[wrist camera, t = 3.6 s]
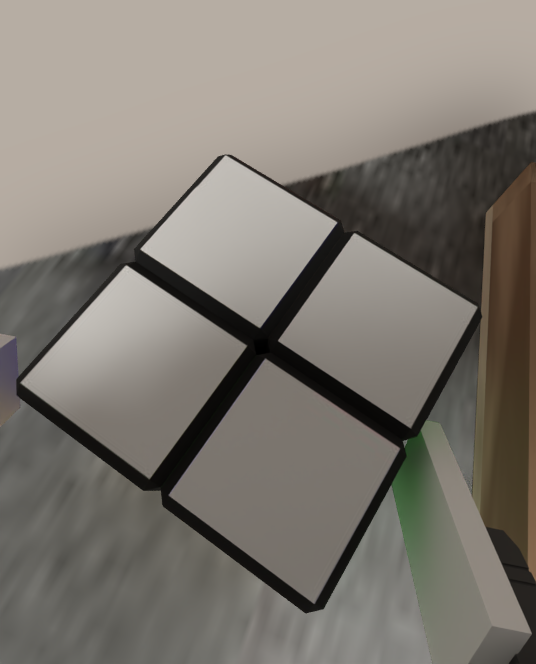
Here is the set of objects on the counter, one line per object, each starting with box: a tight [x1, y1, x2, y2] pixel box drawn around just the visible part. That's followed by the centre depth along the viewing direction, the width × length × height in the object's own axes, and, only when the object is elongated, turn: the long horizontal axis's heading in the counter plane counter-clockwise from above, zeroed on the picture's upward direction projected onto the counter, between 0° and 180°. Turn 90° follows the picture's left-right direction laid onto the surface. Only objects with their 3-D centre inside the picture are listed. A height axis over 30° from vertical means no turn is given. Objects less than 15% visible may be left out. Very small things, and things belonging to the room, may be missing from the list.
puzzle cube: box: [16, 155, 482, 613], centre depth 17 cm, size 10×10×10 cm
